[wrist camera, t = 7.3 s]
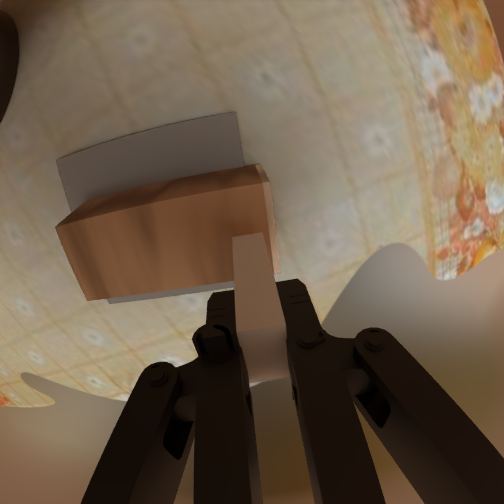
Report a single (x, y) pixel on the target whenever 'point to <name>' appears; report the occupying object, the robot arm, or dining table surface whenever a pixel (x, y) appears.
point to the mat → (153, 168)
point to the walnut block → (168, 233)
